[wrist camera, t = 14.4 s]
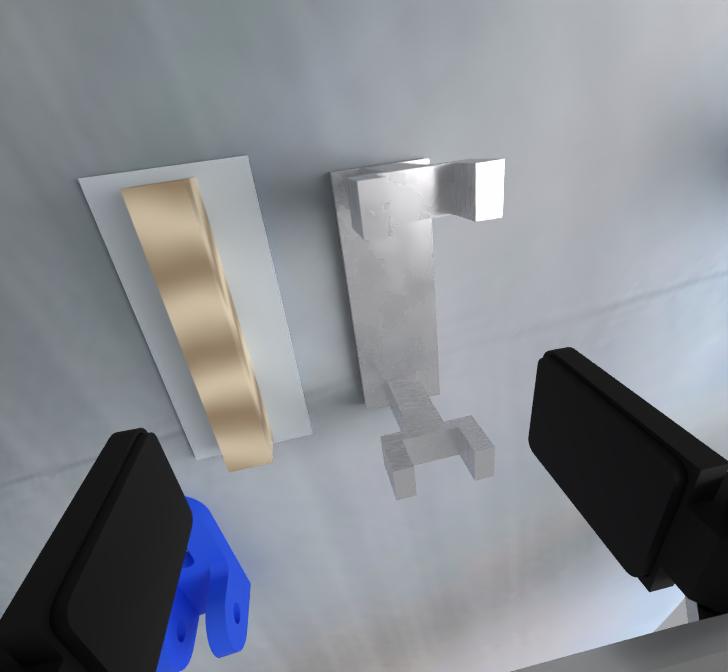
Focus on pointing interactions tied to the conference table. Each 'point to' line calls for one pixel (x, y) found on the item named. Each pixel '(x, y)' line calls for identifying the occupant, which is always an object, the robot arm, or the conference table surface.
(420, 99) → the conference table surface
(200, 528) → the bracket
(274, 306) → the mat
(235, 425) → the rail
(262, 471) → the conference table surface
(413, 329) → the rail stand
